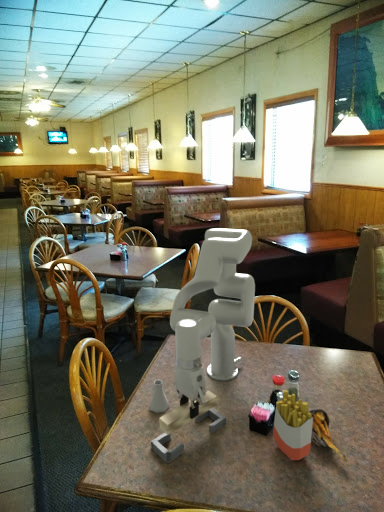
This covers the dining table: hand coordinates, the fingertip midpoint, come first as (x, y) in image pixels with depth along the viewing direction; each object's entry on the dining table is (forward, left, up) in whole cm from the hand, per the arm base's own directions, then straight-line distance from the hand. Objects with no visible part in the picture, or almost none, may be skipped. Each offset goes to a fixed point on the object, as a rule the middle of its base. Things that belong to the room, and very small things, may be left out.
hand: (189, 412), depth 115 cm
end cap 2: (-9, 0, -9) cm, 13 cm away
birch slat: (0, 0, -1) cm, 1 cm away
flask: (-1, -18, -9) cm, 20 cm away
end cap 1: (+9, 0, -9) cm, 12 cm away
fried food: (-28, +30, -9) cm, 42 cm away
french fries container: (-18, +25, -9) cm, 32 cm away
